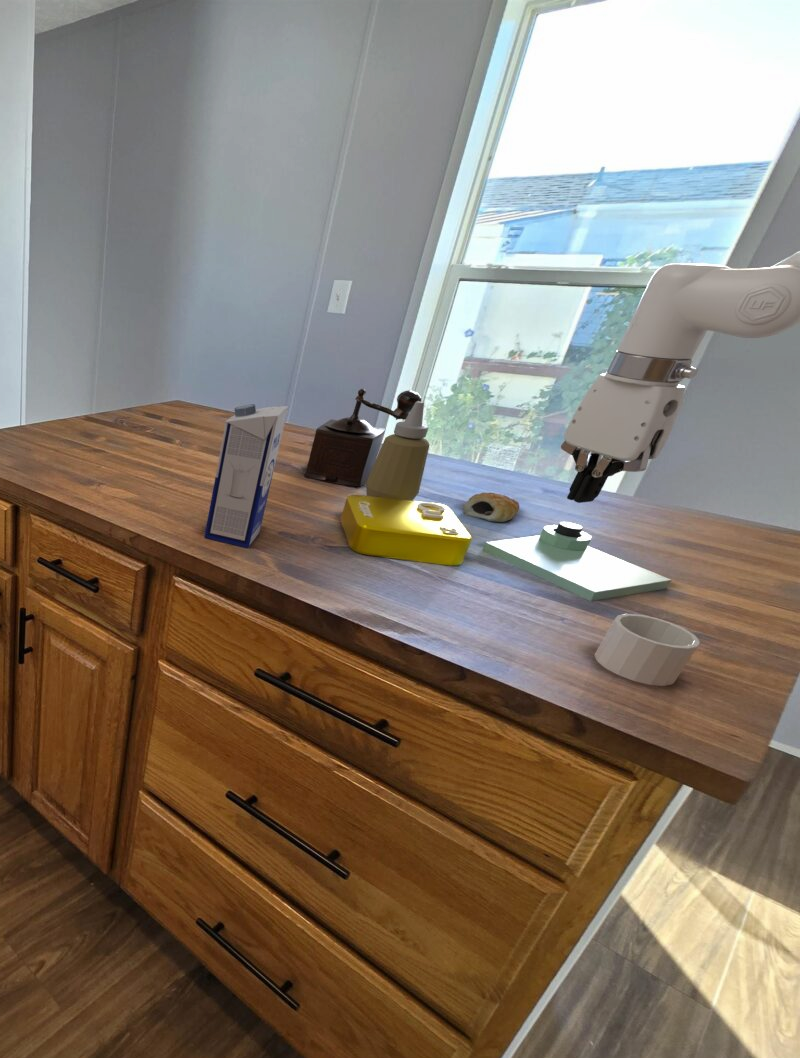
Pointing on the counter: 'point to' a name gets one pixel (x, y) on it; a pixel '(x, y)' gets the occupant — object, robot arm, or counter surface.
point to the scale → (576, 565)
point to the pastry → (491, 507)
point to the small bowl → (646, 649)
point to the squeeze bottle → (401, 459)
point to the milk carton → (244, 474)
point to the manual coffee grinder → (352, 443)
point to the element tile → (404, 530)
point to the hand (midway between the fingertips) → (579, 499)
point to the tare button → (569, 529)
